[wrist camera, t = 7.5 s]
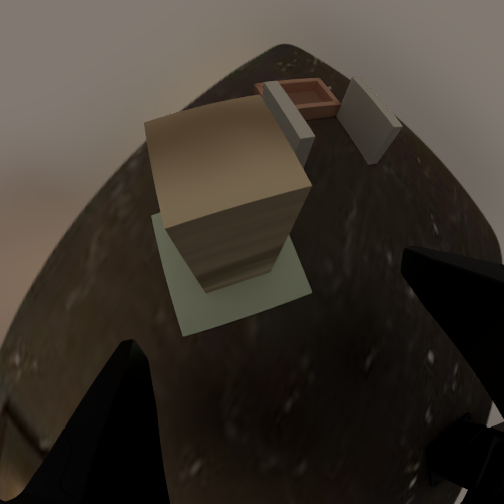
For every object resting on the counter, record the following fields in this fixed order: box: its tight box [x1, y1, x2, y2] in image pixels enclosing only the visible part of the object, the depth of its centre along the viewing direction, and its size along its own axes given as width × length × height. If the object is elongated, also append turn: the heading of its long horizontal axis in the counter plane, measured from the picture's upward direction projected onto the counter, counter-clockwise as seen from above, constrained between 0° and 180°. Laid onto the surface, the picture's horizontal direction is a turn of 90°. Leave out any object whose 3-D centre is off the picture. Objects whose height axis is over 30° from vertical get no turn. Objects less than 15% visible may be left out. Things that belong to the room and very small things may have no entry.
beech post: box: [144, 95, 312, 293], centre depth 15 cm, size 5×5×12 cm
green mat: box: [151, 212, 312, 337], centre depth 21 cm, size 10×10×1 cm
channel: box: [262, 77, 403, 168], centre depth 22 cm, size 7×10×6 cm
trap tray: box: [254, 78, 341, 120], centre depth 26 cm, size 5×8×2 cm, turn 109°
